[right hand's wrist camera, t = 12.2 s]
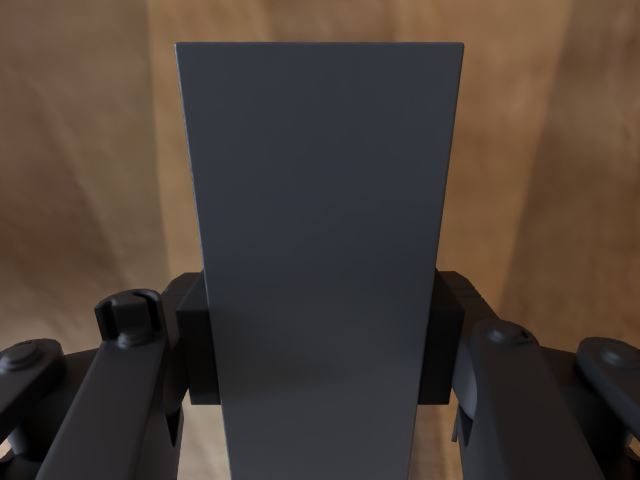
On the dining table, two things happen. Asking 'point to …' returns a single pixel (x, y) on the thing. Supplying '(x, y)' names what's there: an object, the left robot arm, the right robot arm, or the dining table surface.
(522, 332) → the right robot arm
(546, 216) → the dining table surface
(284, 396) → the bar
